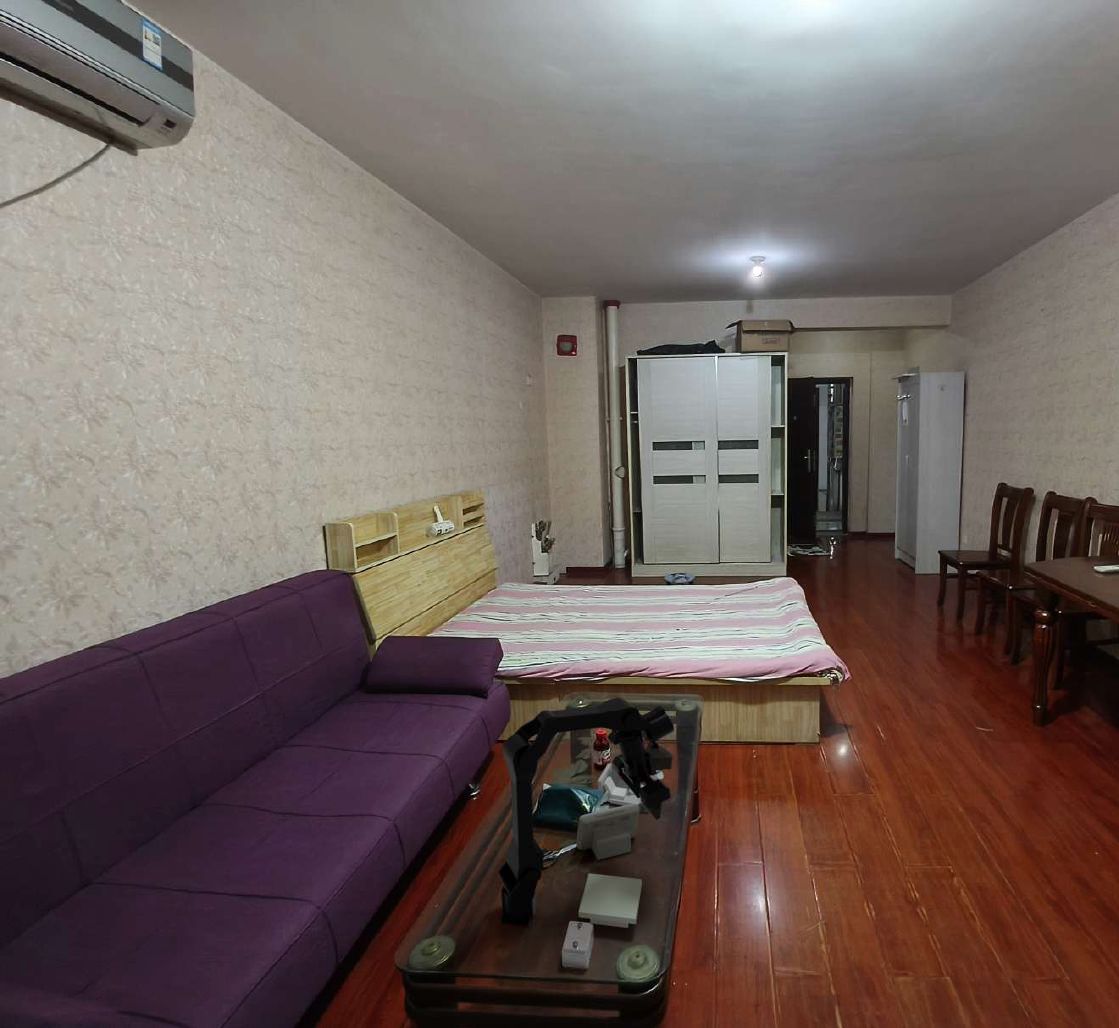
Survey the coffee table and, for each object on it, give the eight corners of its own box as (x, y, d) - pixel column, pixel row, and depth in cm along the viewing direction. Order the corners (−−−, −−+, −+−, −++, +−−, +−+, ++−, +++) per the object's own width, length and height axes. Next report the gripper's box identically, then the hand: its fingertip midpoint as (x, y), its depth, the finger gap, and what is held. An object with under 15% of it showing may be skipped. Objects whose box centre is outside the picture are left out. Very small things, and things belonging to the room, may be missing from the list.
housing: (562, 968, 130) (561, 948, 129) (570, 936, 137) (569, 917, 137) (587, 971, 129) (586, 951, 128) (593, 939, 136) (593, 920, 136)
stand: (579, 929, 139) (578, 912, 138) (589, 889, 151) (588, 873, 150) (636, 936, 136) (635, 919, 136) (642, 895, 148) (641, 879, 147)
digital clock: (636, 833, 170) (635, 794, 169) (644, 855, 161) (643, 815, 160) (574, 839, 169) (572, 801, 167) (579, 862, 160) (577, 822, 159)
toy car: (666, 761, 187) (656, 782, 176) (666, 793, 188) (657, 816, 178) (605, 752, 193) (592, 772, 183) (606, 783, 195) (594, 805, 184)
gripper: (683, 755, 145) (698, 814, 149) (644, 719, 163) (659, 773, 166) (640, 777, 142) (656, 837, 146) (604, 738, 159) (620, 792, 163)
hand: (648, 807), depth 155 cm, fingers open, 9 cm apart
